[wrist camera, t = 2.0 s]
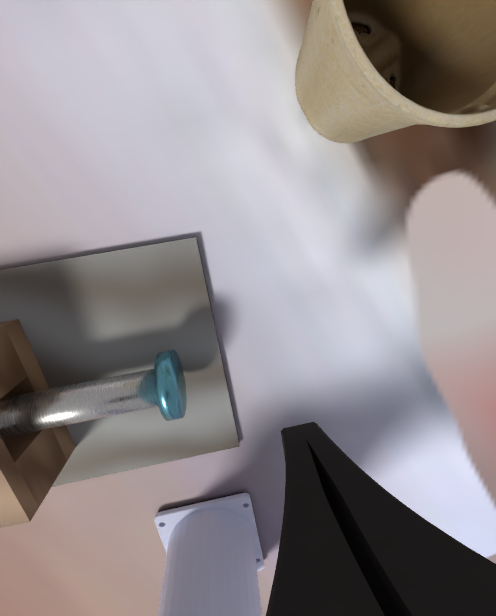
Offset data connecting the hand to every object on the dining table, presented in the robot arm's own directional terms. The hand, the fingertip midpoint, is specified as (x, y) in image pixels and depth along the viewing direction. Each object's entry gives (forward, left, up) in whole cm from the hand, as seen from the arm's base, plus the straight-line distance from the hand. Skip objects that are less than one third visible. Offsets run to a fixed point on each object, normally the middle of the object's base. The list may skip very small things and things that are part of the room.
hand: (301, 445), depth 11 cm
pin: (0, +11, -9) cm, 14 cm away
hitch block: (0, +14, -9) cm, 17 cm away
